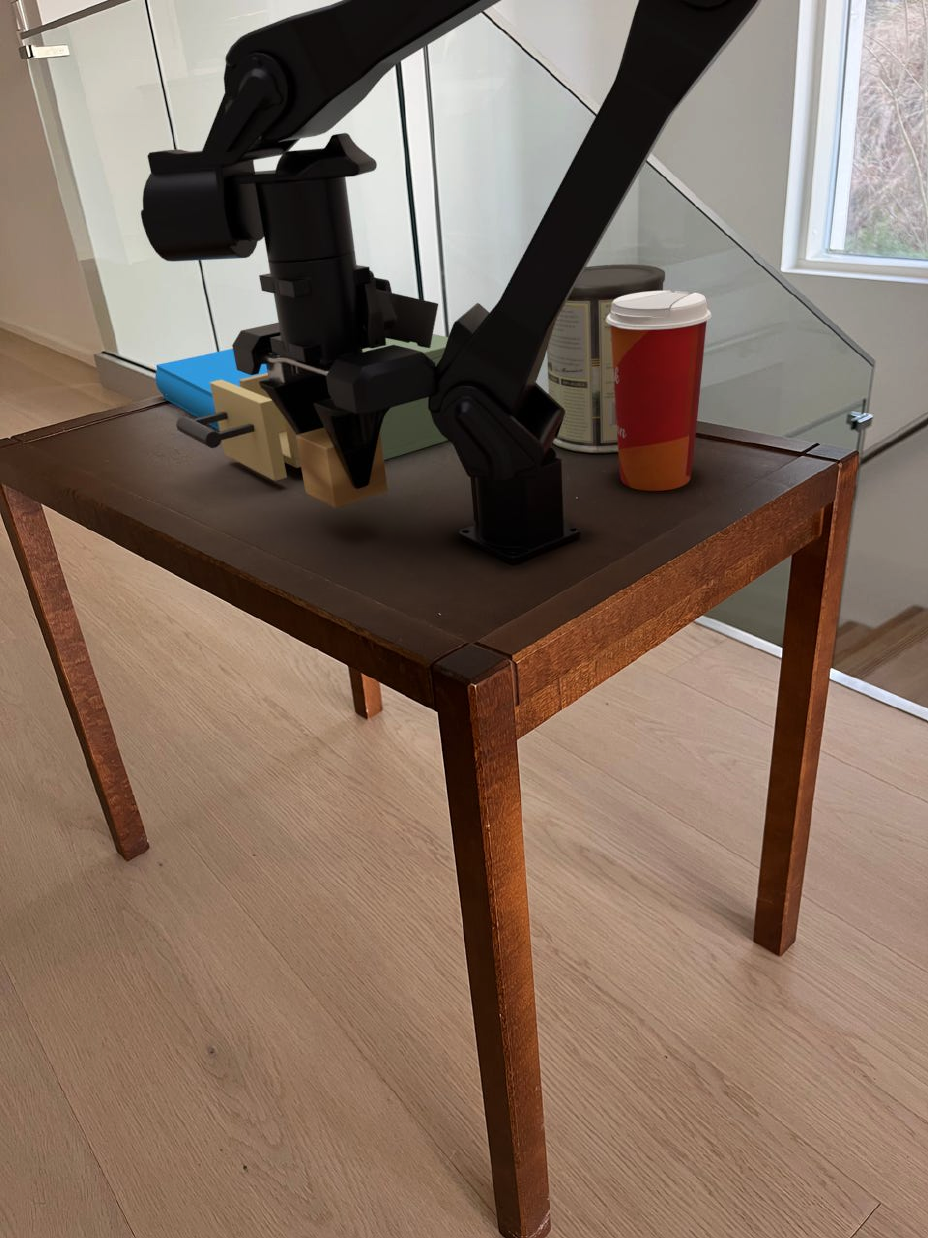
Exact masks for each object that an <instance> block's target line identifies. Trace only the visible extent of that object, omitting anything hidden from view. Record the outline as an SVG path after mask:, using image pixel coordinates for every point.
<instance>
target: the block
mask: <svg viewBox="0 0 928 1238" xmlns="http://www.w3.org/2000/svg"><path fill="white" fill-rule="evenodd" d="M296 439H297V445H298V450H299V456H300V462H301V467H300V468H301V473H302V479H303V485H304V491H305V494H307V495H309V496H311V497H312V498H315V499H316V500H318V501H320V502H322V503H324V504H326V505H328V506H330V507H332V508H333V509H338V508H341V507H344V506H347V505H350V504H353V503H356V502H359V501H362V500H365V499H368V498H372V497H374V496H377V495H381V494H384V493H386V492H388V491H389V490H388V483H387V476H386V467H385V460H384V458H383V450H382V442H381V434H380V433H379V437H378V442H377V447H376V452H375V457H374V462H373V467H372V472H371V477H370V482H369V485H368V486H366V487H363V488H360V489H356V488H354V487H353V485H352V483H351V481H350V479H349V478H348V476H347V474H346V472H345V470H344V468H343V466H342V464H341V461H340V459H339V457H338V455H337V453H336V451H335V449H334V446H333V444H332V442H331V440H330V438H329V436H328V434H327V432H326V429H325V428H320V429H316V430H313V431H309V432H306V433H302V434H299V435H296Z"/></svg>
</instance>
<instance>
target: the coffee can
mask: <svg viewBox="0 0 928 1238" xmlns="http://www.w3.org/2000/svg"><path fill="white" fill-rule="evenodd" d="M665 280H666V271H665V270H664V269H662V268H660V267H657V266H652V265H647V264H603V265H591V266H586V268H585V269H584V271H583V273H582V275H581V276H580V278H579V280H578V282H577V283H576V285H575V287H574V289H573V290H572V292H571V294H570V296H569V298H568V299H567V301H566V303H565V305H564V306H563V308H562V310H561V312H560V313H559V315H558V317H557V319H556V322H555V325H554V328H553V331H552V334H551V338H550V341H549V344H548V348H547V351H546V359H547V360H546V361H547V383H548V385H547V386H548V394H549V395H550V396H551V397H552V398H553V399H554V400H555V401H556V402H557V403H558V404H559V405H561V406H562V407H563V408H564V410H565V416H564V419H563V422H562V425H561V428H560V431H559V434H558V436H557V438H556V439H554V441H553V443H552V444H553V445H555V446H557V447H559V448H562V449H564V450H568V451H572V452H578V453H586V454H587V453H588V454H613V453H618V439H617V424H616V408H615V392H614V376H613V359H612V343H611V327H610V324H608V323H607V322H606V318H607V316H608V315H609V314H610V312H611V305H612V302H613V301H614V300H615V299H616V298H618V297H621V296H625V295H629V294H634V293H640V292H649V291H664V283H665Z"/></svg>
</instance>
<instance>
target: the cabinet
mask: <svg viewBox="0 0 928 1238" xmlns="http://www.w3.org/2000/svg"><path fill="white" fill-rule="evenodd" d="M448 337H449V336H444V335H439V334H436V333H433V336H432V341H431V347H430V348H425V347H420V346H418V345H417V343H415V342H409V343H406V342H402V341H397V340H393V339H388V338H386V345H385V346H381V347H377V348H373V349H372V348H365V349H362V350H363V352H366V351H370V350H374V349H378V348H382V347H386V346H391V345H397V346H401V347H405V348H409V349H413V350H417V351H421V352H423V353H424V354H425V355H426V356H428V357H429V358H430V359H431V360H432V361H433V362H434V363H435V364H436V365H437V364H438V362H439V361H440V359H441V358H442V355H443V353H444V350H445V347H446V344H447V340H448ZM428 398H429V397H427V398H423V399H420V400H416V401H413V402H409V403H406V404H402V405H398V406H395V407H391V408H390V409H389V410H388V412H387V413H386V414H385V416H384V419H383V422H382V426H381V429H380V434H381V442H382V450H383V458H384V461H387V460H390V459H393V458H397V457H400V456H402V455H405V454H409V453H412V452H415V451H418V450H422V449H425V448H428V447H431V446H434V445H438V444H440V443H444V442H447V441H448V442H449V440H448V439H446V438H445V437H444V436H443V435H442V434H441V433H440V432H439V430H438V429H437V427H436V426H435V424H434V422H433V419H432V416H431V413H430V411H429V409H428Z"/></svg>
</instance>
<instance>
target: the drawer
mask: <svg viewBox="0 0 928 1238" xmlns="http://www.w3.org/2000/svg"><path fill="white" fill-rule="evenodd" d="M264 379H268V373H264V374H260V375H256V376H252V377H248V378H244V379H240V380H239V383H240V387H239V386H237V385H234V384H232V383H229V382H226V381H224V380H217V381H213V382H210V387H211V392H212V396H213V401H214V406H215V410H216V414H212V415H208V416H204V417H200V418H197V417H196V418H190V417H188V416H184V415H183V416H181V417H179V418H177V420H176V423H175V426H176V429H177V430H178V431H179V432H180V433H182V434H184V435H186V436H188V437H190V438H191V439H194V441H197V442H199V443H200V444H202V445H204V446H206V447H208V448H210V449H216V448H217V447H219V446H220V445H221V443H222V448H223V453H224V455H225V456H226V457H229V458H230V459H232V460H234V461H236V462H238V463H240V464H242V465H243V466H244V467H247V468H249V469H251V470H253V471H255V472H257V473H259V474H261V475H262V476H263V477H266V478H268V479H270V480H272V481H273V482H277V481H280V480H283V479H286V478H288V475H287V470H286V465H285V464H287V465H289V466H291V467H293V468H296V469H298V468H301V462H300V456H299V450H298V445H297V439H296V433H295V432H294V431H293V429H292V428H291V426H290V425H289V423H288V422H287V420H286V419H285V418H284V416H283V415H282V413H281V412H280V411H279V409H278V408H277V406H276V405H275V404H274V402H273V401H272V399H271V398H270V397H269V395H268V394H267V393H266V391H265V390H264V389H262V388H261V387H260V385H259V381H261V380H264ZM214 422H218V425H219V429H220V431H216V430H214V429H212V428H210V427H208V426H206V425H209V424H210V423H214Z"/></svg>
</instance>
